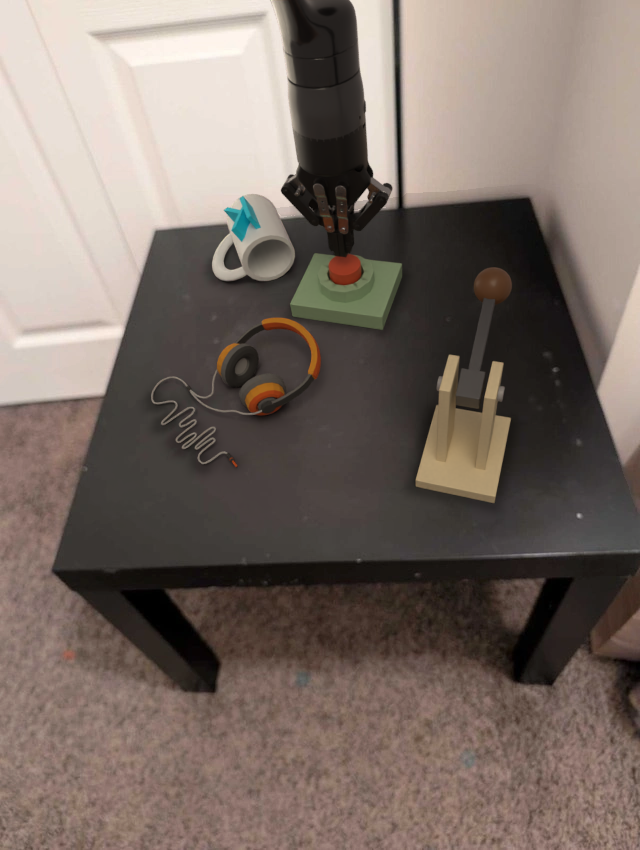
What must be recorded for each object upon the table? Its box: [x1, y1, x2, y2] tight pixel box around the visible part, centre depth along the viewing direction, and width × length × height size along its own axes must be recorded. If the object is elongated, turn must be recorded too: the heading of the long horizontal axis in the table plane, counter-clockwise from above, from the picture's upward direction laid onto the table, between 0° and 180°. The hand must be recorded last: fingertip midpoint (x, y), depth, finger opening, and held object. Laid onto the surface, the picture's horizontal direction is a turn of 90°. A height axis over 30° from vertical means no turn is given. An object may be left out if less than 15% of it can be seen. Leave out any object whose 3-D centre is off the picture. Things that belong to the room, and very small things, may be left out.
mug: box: [211, 193, 296, 282], centre depth 91 cm, size 12×9×12 cm
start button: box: [329, 253, 362, 285], centre depth 83 cm, size 4×4×2 cm
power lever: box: [455, 266, 513, 410], centre depth 63 cm, size 14×4×4 cm, turn 162°
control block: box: [289, 252, 403, 331], centre depth 85 cm, size 12×10×4 cm
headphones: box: [150, 317, 322, 468], centre depth 77 cm, size 17×5×20 cm
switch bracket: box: [415, 354, 512, 504], centre depth 65 cm, size 10×8×13 cm
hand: (342, 252), depth 81 cm, fingers closed
